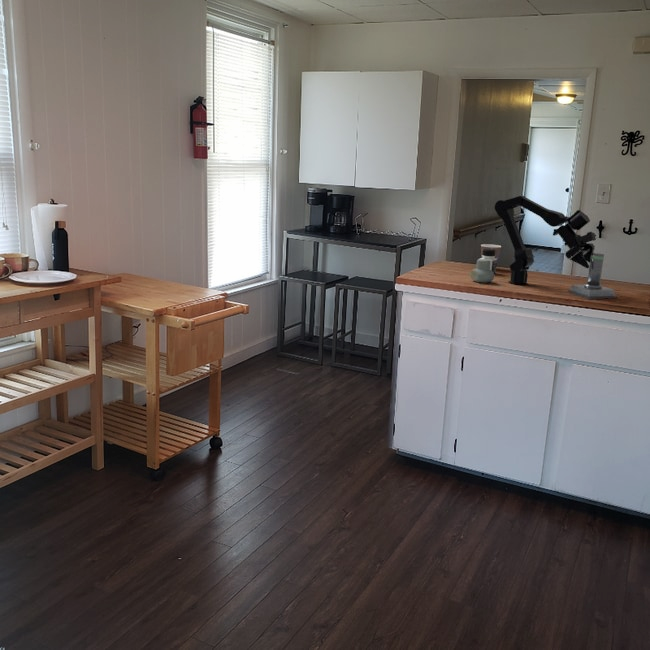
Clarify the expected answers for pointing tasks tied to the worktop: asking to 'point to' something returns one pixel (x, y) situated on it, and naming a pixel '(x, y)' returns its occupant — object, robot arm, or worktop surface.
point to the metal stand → (592, 292)
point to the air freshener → (482, 272)
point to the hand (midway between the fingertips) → (592, 266)
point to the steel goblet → (595, 271)
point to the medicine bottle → (490, 258)
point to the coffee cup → (490, 246)
